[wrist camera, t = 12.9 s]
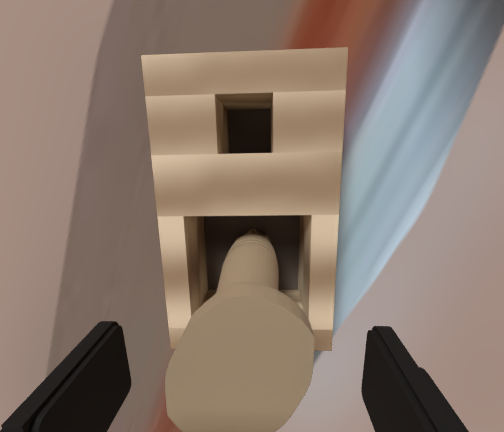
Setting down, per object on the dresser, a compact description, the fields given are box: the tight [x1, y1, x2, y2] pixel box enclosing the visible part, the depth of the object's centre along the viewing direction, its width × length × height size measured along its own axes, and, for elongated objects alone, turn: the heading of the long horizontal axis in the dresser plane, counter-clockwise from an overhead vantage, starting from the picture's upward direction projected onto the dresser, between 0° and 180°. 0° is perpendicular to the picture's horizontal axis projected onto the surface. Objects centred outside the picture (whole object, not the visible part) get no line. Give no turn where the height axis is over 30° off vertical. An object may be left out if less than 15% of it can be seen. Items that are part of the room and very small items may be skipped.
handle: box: [165, 229, 315, 432], centre depth 17 cm, size 5×6×15 cm
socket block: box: [141, 47, 348, 351], centre depth 21 cm, size 20×12×6 cm, turn 1°
